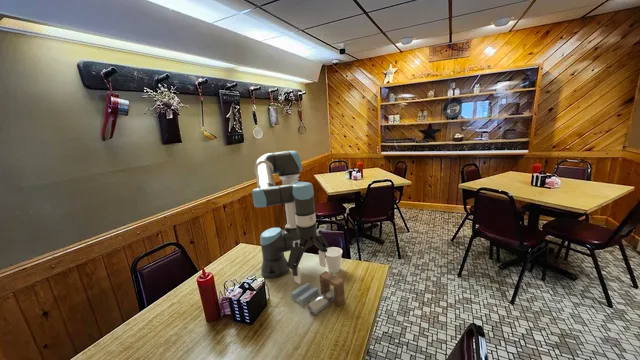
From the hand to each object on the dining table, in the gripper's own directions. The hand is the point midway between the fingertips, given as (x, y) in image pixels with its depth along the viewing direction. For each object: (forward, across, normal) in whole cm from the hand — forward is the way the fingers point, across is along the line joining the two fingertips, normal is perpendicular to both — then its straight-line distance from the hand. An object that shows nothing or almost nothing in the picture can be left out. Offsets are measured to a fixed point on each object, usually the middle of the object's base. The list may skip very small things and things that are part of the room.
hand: (310, 273), depth 100 cm
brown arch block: (+20, +13, +1) cm, 24 cm away
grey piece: (+18, +7, +2) cm, 19 cm away
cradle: (+20, +6, +12) cm, 24 cm away
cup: (+20, +30, +16) cm, 40 cm away
